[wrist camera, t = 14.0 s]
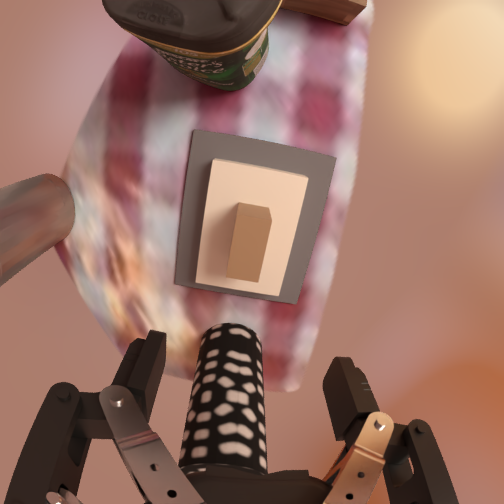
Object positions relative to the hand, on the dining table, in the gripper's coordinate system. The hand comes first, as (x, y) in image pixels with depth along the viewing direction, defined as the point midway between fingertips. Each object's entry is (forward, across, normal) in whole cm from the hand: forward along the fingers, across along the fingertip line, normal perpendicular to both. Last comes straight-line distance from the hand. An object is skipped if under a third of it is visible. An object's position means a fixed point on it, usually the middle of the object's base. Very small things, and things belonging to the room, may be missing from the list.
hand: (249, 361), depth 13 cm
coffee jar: (+21, +6, -18) cm, 28 cm away
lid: (+20, 0, 0) cm, 20 cm away
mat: (+20, 0, 0) cm, 21 cm away
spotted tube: (+21, -1, +17) cm, 27 cm away
